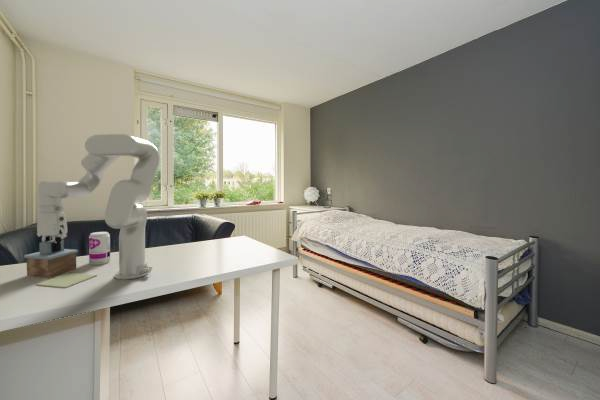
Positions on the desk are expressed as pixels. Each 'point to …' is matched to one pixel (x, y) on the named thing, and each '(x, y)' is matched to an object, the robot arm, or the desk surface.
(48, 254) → the lid
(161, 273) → the desk surface
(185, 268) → the desk surface
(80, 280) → the felt mat
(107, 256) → the supplement can
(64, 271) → the walnut box
